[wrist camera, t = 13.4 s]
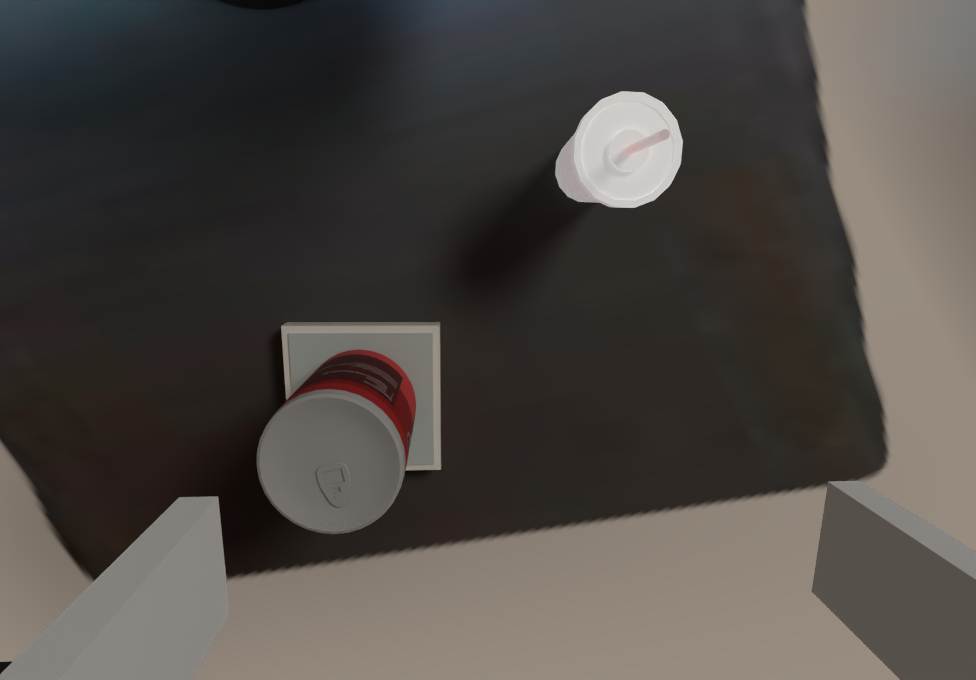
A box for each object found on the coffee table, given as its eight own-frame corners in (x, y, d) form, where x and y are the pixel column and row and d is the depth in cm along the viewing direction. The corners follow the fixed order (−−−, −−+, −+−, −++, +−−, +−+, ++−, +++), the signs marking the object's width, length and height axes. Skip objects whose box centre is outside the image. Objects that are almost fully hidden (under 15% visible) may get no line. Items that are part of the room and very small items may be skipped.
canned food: (343, 468, 39) (303, 558, 29) (288, 375, 38) (224, 433, 27) (436, 424, 39) (431, 497, 28) (385, 328, 37) (359, 367, 27)
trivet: (287, 322, 39) (280, 326, 37) (440, 322, 39) (439, 325, 38) (296, 464, 41) (290, 473, 39) (441, 461, 42) (440, 470, 40)
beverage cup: (602, 106, 37) (692, 33, 23) (644, 183, 38) (752, 157, 25) (528, 154, 37) (573, 110, 24) (571, 229, 39) (638, 229, 25)
